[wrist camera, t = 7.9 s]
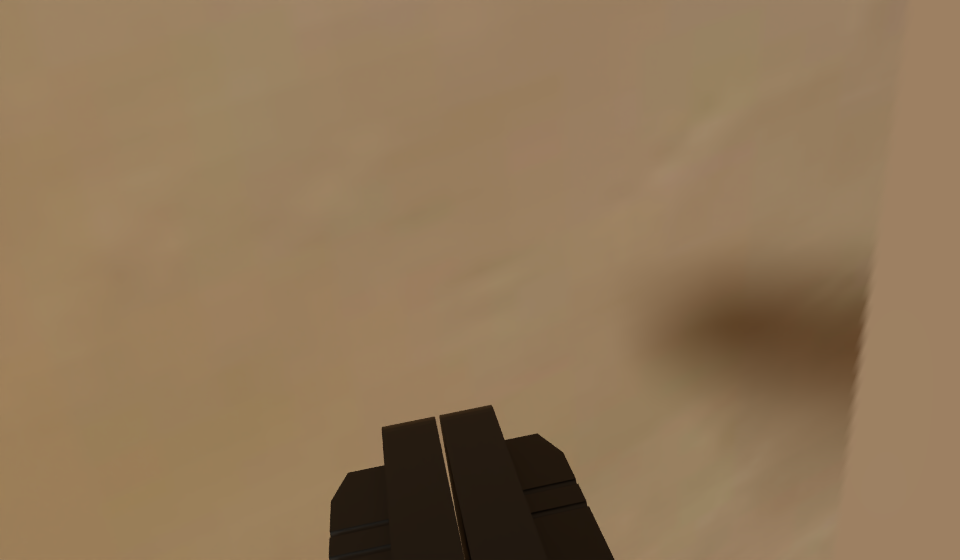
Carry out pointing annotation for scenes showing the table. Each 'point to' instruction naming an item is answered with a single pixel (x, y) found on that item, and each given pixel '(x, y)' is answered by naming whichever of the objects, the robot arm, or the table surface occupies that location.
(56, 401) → the table surface
